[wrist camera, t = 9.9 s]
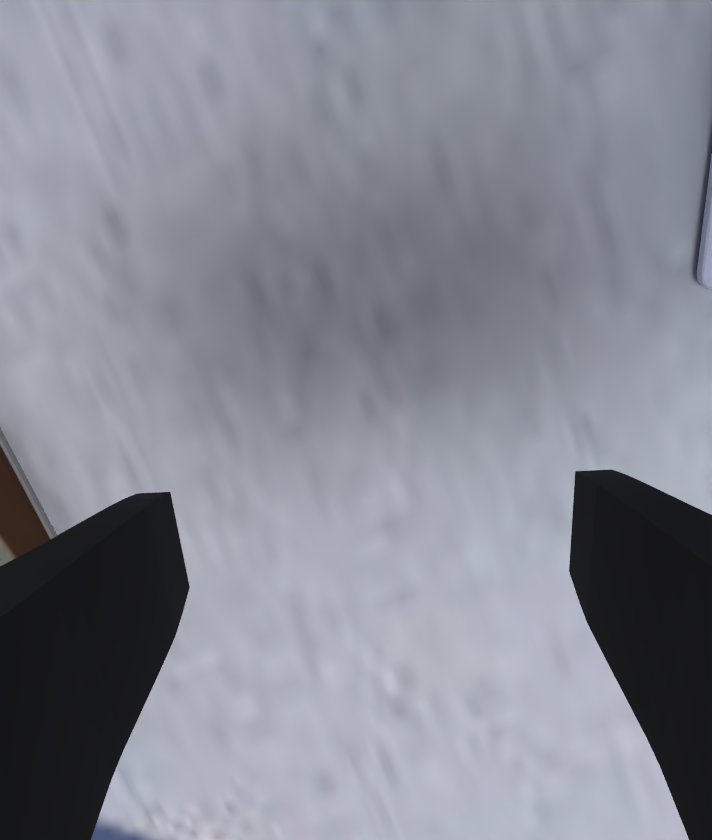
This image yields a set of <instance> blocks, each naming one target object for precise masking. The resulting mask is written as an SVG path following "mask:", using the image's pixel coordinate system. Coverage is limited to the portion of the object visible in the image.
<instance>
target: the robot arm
mask: <svg viewBox="0 0 712 840" xmlns="http://www.w3.org/2000/svg"><path fill="white" fill-rule="evenodd" d="M697 280H698V282H699V283H700V285H702V286H704V287H705V288H709V289H712V155H711V163H710V171H709V179H708V187H707V195H706V203H705V211H704V219H703V227H702V235H701V243H700V251H699V259H698V267H697ZM569 572H570V575H571V578H572V581H573V584H574V587H575V590H576V593H577V596H578V599H579V602H580V604H581V607H582V610H583V613H584V615H585V618H586V621H587V623H588V625H589V627H590V629H591V631H592V633H593V635H594V637H595V639H596V641H597V643H598V645H599V647H600V649H601V651H602V653H603V654H604V656H605V658H606V660H607V662H608V664H609V666H610V668H611V670H612V672H613V674H614V676H615V678H616V680H617V681H618V683H619V685H620V687H621V689H622V691H623V693H624V695H625V697H626V699H627V701H628V703H629V704H630V706H631V708H632V710H633V712H634V714H635V716H636V718H637V720H638V722H639V724H640V726H641V728H642V729H643V731H644V733H645V735H646V737H647V739H648V741H649V744H650V746H651V748H652V750H653V752H654V754H655V756H656V759H657V761H658V763H659V765H660V767H661V770H662V772H663V775H664V777H665V780H666V782H667V785H668V787H669V790H670V792H671V795H672V797H673V800H674V802H675V805H676V807H677V810H678V812H679V815H680V817H681V820H682V822H683V825H684V827H685V830H686V832H687V835H688V838H689V840H712V515H710V514H708V513H706V512H704V511H702V510H700V509H698V508H695V507H693V506H691V505H689V504H687V503H685V502H683V501H681V500H679V499H677V498H675V497H672V496H670V495H668V494H666V493H664V492H662V491H660V490H658V489H656V488H654V487H652V486H650V485H648V484H645V483H643V482H641V481H639V480H637V479H634V478H632V477H630V476H628V475H625V474H623V473H620V472H617V471H614V470H595V471H576V472H575V487H574V504H573V520H572V536H571V552H570V568H569ZM188 591H189V582H188V578H187V573H186V568H185V563H184V558H183V553H182V548H181V543H180V538H179V533H178V528H177V523H176V518H175V513H174V508H173V504H172V499H171V494H170V492H161V493H141V494H135V495H133V496H130V497H128V498H125V499H123V500H121V501H119V502H117V503H115V504H113V505H111V506H109V507H108V508H106V509H104V510H102V511H100V512H98V513H97V514H95V515H93V516H91V517H90V518H88V519H86V520H84V521H82V522H81V523H79V524H77V525H75V526H74V527H72V528H70V529H68V530H67V531H65V532H63V533H61V534H59V535H58V536H56V537H54V538H52V539H51V540H49V541H47V542H45V543H43V544H42V545H40V546H38V547H36V548H34V549H32V550H30V551H28V552H26V553H25V554H23V555H21V556H19V557H17V558H15V559H13V560H11V561H9V562H7V563H6V564H4V565H2V566H0V840H91V837H92V834H93V831H94V828H95V825H96V822H97V820H98V817H99V814H100V811H101V808H102V805H103V802H104V799H105V796H106V793H107V790H108V787H109V785H110V782H111V779H112V776H113V774H114V772H115V769H116V767H117V764H118V762H119V759H120V757H121V755H122V752H123V750H124V748H125V745H126V743H127V741H128V739H129V737H130V735H131V732H132V730H133V728H134V726H135V724H136V722H137V719H138V717H139V715H140V713H141V711H142V709H143V706H144V704H145V702H146V700H147V698H148V696H149V693H150V691H151V689H152V687H153V685H154V683H155V680H156V678H157V676H158V674H159V672H160V669H161V667H162V665H163V663H164V660H165V658H166V656H167V654H168V652H169V649H170V647H171V645H172V642H173V640H174V638H175V635H176V632H177V629H178V626H179V622H180V619H181V616H182V613H183V609H184V605H185V602H186V598H187V594H188Z"/></svg>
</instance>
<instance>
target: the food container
mask: <svg viewBox="0 0 712 840" xmlns="http://www.w3.org/2000/svg"><path fill="white" fill-rule="evenodd" d="M56 536H57V535H56V533H55V531H54V529H53V527H52V525H51V524H50V522H49V520H48V518H47V516H46V514H45V512H44V510H43V508H42V506H41V505H40V503H39V501H38V499H37V497H36V495H35V493H34V491H33V489H32V487H31V486H30V484H29V482H28V480H27V478H26V476H25V474H24V472H23V470H22V469H21V467H20V465H19V463H18V461H17V459H16V457H15V455H14V453H13V451H12V450H11V448H10V446H9V444H8V442H7V440H6V438H5V436H4V434H3V432H2V431H1V429H0V566H2V565H4V564H6V563H7V562H9V561H11V560H13V559H15V558H17V557H19V556H21V555H23V554H25V553H26V552H28V551H30V550H32V549H34V548H36V547H38V546H40V545H42V544H43V543H45V542H47V541H49V540H51V539H52V538H54V537H56Z"/></svg>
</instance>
